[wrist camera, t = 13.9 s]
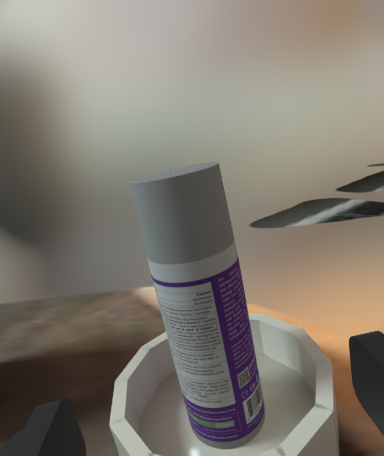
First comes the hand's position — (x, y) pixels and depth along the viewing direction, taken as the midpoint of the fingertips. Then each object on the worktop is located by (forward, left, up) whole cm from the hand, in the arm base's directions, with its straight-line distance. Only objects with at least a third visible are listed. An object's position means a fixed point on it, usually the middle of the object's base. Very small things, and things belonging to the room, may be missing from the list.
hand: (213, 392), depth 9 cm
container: (+8, +3, -10) cm, 13 cm away
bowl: (+8, +4, -10) cm, 14 cm away
